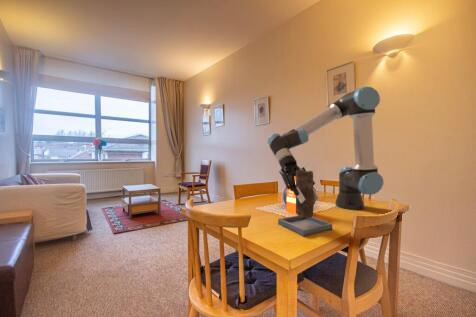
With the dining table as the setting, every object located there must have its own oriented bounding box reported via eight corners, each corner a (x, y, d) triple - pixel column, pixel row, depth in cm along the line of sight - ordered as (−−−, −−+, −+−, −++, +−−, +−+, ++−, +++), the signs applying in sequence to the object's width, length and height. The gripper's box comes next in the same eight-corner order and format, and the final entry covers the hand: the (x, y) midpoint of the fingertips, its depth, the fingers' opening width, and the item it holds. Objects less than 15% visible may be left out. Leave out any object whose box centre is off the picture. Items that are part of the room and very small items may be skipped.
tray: (305, 219, 109) (305, 213, 108) (332, 229, 94) (332, 224, 94) (278, 224, 101) (278, 218, 101) (303, 236, 87) (303, 230, 87)
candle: (291, 215, 98) (292, 169, 97) (301, 212, 103) (302, 168, 102) (306, 219, 92) (308, 171, 91) (316, 216, 97) (317, 170, 96)
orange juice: (308, 212, 119) (309, 175, 118) (298, 216, 113) (298, 176, 112) (296, 209, 125) (296, 173, 124) (286, 212, 120) (286, 175, 119)
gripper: (298, 164, 115) (322, 202, 101) (265, 165, 106) (287, 208, 92) (306, 154, 110) (332, 193, 96) (272, 154, 101) (296, 198, 87)
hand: (310, 200), depth 94 cm, fingers closed on candle, 7 cm apart
